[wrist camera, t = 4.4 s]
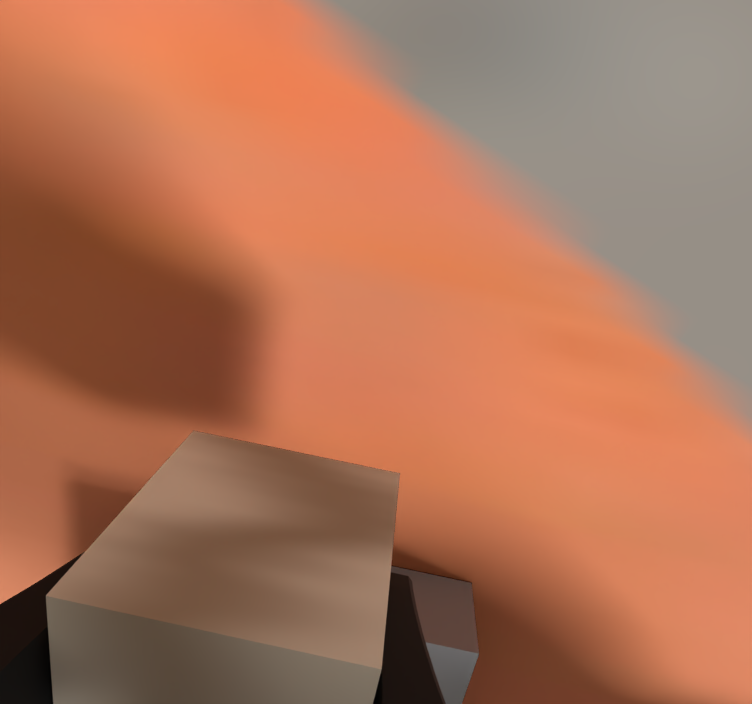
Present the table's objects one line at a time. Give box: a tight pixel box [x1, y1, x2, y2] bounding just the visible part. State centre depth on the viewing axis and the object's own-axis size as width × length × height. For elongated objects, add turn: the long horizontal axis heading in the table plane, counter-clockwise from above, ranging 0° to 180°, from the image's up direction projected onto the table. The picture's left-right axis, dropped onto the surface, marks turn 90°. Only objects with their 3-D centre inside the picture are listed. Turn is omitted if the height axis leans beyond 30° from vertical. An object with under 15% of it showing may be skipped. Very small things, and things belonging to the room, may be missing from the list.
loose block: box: [46, 431, 400, 704], centre depth 11 cm, size 5×5×5 cm
